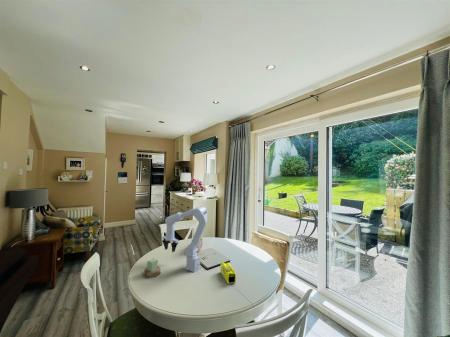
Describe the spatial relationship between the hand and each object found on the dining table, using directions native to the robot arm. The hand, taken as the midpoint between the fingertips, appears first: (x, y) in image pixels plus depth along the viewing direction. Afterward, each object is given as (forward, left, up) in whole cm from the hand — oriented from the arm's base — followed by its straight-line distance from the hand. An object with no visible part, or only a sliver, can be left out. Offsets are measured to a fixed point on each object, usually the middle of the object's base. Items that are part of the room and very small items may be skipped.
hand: (169, 250), depth 150 cm
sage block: (-2, +17, -6) cm, 18 cm away
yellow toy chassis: (-46, -8, -10) cm, 47 cm away
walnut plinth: (-2, +17, -9) cm, 20 cm away
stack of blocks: (0, -32, -10) cm, 33 cm away
